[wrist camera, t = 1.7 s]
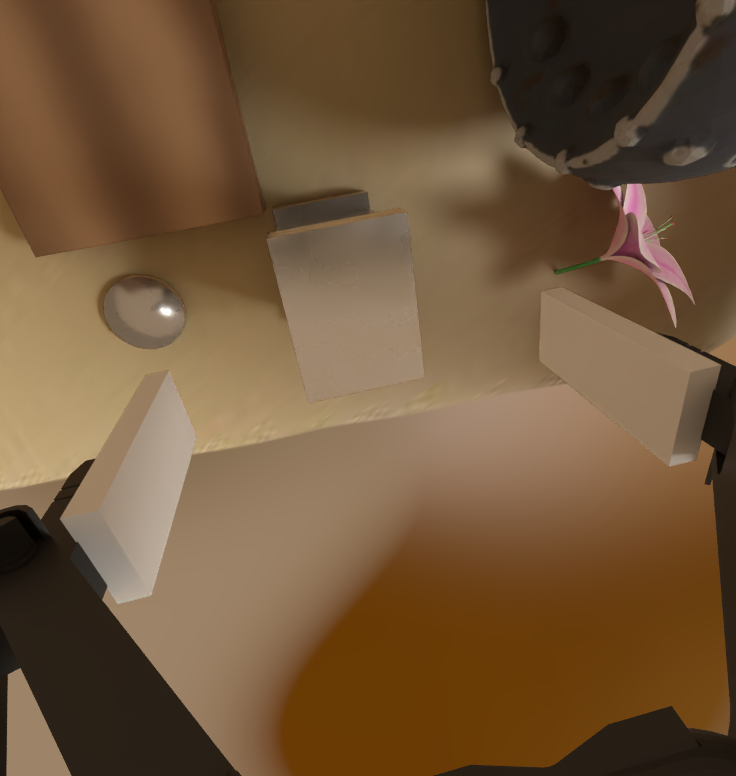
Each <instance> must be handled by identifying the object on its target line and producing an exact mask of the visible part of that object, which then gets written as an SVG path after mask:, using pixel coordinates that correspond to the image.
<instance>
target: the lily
mask: <svg viewBox="0 0 736 776" xmlns="http://www.w3.org/2000/svg"><path fill="white" fill-rule="evenodd" d="M612 190H613V192H614V194H615V195H616V198H617V200H618V204H619V210H620V215H619V221H618V225H617V228H616V232H615V235H614V238H613V240H612V243H611V246H610V248H609V250H608V252H607V253H606V254H605V255H603V256H601V257H598V258H596V259H593V260H590V261H587V262H584V263H581V264H577V265H574V266H571V267H567V268H563V269H560V270H556V271H555V274H560V273H563V272H567V271H571V270H575V269H578V268H582V267H585V266H588V265H591V264H594V263H597V262H601V261H604V260H615V261H618V262H621V263H624V264H627V265H629V266H632V267H634V268H636V269H638V270H640V271H642V272H643V273H645V274H646V275H647V276H649V277H650V278H651V279H652V280H653V281H654V282H655V283H656V285H657V286H658V288H659V289H660V291H661V293H662V295H663V298H664V300H665V303H666V305H667V307H668V310H669V313H670V315H671V318H672V320H673V323H674V326H675V328H676V315H675V309H674V305H673V300H672V297H671V294H670V292H669V289H668V288H667V286H666V285H665V283H664V282H667V283H669V284H671V285H673V286H675V287H677V288H679V289H680V290H682V291H683V292H685V293H686V294H687V295H688V296H689V297H690V299H691V300H692V302H693V303H694V299H693V296H692V293H691V291H690V288H689V286H688V283H687V281H686V278H685V276H684V274H683V272H682V270H681V268H680V266H679V265H678V263H677V262H676V260H675V259H674V257H673V256H672V255H671V254H670V253H669V252H668V251H667V250H666V249H665V248H663V247H661V246H660V242H659V239H663V240H667V239H669V238H658V235H657V233H659V232H661V231H664V230H666V229H669V228H671V227H672V226H671V225H674V222H671V224H669V225H666V226H665V227H663V228H662V229H660V230H658V231H655V230H656V229H658V228H659V227H661V226H662V225H664V224H665V223H666V222H668V221H669V220H670V219H671V218H672V217H673V216H674V215H673V216H671V217H670V218H669V219H668V221H666V222H665V223H664V224H662V225H661V226H659V227H658V228H656V229H654V227H653V225H652V222H651V220H650V219H649V217H648V216H647V215H646V212H647V205H646V197H645V193H644V190H643V186H642V184H627V190H626V196H625V202H624V207H623V193H622V189H621V187H620V185H619V186H617V187H615V188H613V189H612ZM669 226H671V227H669ZM667 227H668V228H667ZM663 281H664V282H663ZM694 305H695V303H694Z"/></svg>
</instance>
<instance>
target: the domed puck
mask: <svg viewBox="0 0 736 776" xmlns="http://www.w3.org/2000/svg"><path fill="white" fill-rule="evenodd" d="M103 309H104V316H105V319H106V321H107V323H108V325H109V327H110V328H111V330H112V331H113V332H114V333H115V334H116V335H117V336H118V337H119V338H120V339H122V340H123V341H124V342H126V343H128V344H130V345H132V346H135V347H138V348H143V349H157V348H162V347H165V346H167V345H169V344H171V343H172V342H173V341H175V340H176V339H177V337H178V336H179V335H180V333H181V331H182V330H183V328H184V325H185V321H186V311H185V306H184V303H183V301H182V299H181V297H180V296H179V294H178V293H177V292H176V291H175V290H174V289H173V288H172V287H171V286H170V285H169V284H167V283H166V282H164V281H162V280H160V279H158V278H155V277H152V276H148V275H133V276H129V277H126V278H124V279H122V280H120V281H119V282H117V283H116V284H115V285H114V286H112V287H111V288H110V290H109V291H108V293H107V294H106V297H105V299H104V306H103Z"/></svg>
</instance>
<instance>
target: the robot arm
mask: <svg viewBox="0 0 736 776" xmlns="http://www.w3.org/2000/svg"><path fill="white" fill-rule="evenodd" d="M539 361H540V362H541V363H542V364H544V365H545V366H546V367H547V368H549V369H550V370H551V371H552V372H554V373H555V374H556V375H557V376H558V377H560V378H561V379H562V380H563V381H565V382H566V383H567V384H568V385H570V386H571V387H572V388H573V389H574V390H576V391H577V392H578V393H580V394H581V395H582V396H583V397H584V398H585V399H587V400H588V401H589V402H590V403H592V404H593V405H594V406H595V407H597V408H598V409H599V410H600V411H601V412H603V413H604V414H605V415H606V416H608V417H609V418H610V419H611V420H612V421H614V422H615V423H616V424H617V425H619V426H620V427H621V428H622V429H624V430H625V431H626V432H627V433H628V434H630V435H631V436H632V437H633V438H635V439H636V440H637V441H638V442H639V443H641V444H642V445H643V446H644V447H646V448H647V449H648V450H649V451H651V452H652V453H653V454H655V456H657V457H658V458H659V459H660V460H662V461H663V462H664V463H665V464H667V465H668V466H673V465H678V464H681V463H686V462H689V461H693V460H696V459H697V456H698V452H699V448H700V445H701V441H702V440H703V441H705V442H706V443H708V444H709V445H710V446H712V447H713V448H715V449H714V452H713V456H712V459H711V463H710V466H709V470H708V474H707V478H706V481H705V484H707V485H710V484H711V481H712V480H713V492H714V506H715V517H716V530H717V544H718V557H719V569H720V583H721V595H722V608H723V621H724V634H725V645H726V646H725V647H726V659H727V672H728V685H729V697H730V725H729V730H728V736H726V735H723V734H719V733H716V732H712V731H707V730H701V729H694V728H687V727H686V726H685V724H684V723H683V721H682V720H681V719H680V717H679V716H678V714H677V713H676V711H675V710H674V709H673V707H672V706H670V707H666V708H663V709H660V710H656V711H653V712H649V713H646V714H643V715H639V716H636V717H633V718H629V719H625V720H622V721H619V722H615V723H612V724H608V725H607V726H606V727H604V728H603V729H602V730H600V731H599V732H598V733H596V734H595V735H594V736H592V737H591V738H590V739H588V740H587V741H586V742H584V743H583V744H582V745H580V746H579V747H578V748H576V749H575V750H574V751H572V752H571V753H570V754H568V755H567V756H566V757H564V758H563V759H562V760H560V761H559V762H558V763H556V764H555V765H553V766H550V767H545V768H537V767H511V766H484V765H469V766H465V767H462V768H458V769H455V770H452V771H448V772H445V773H442V774H438V775H435V776H736V366H734V365H731V364H729V363H727V362H725V361H723V360H721V359H718V358H717V357H714V356H712V355H710V354H708V353H706V352H701V350H700V349H698V348H696V347H694V346H689V344H687V343H685V342H683V341H681V340H679V339H677V338H675V337H671V336H667V335H663V334H659V333H655V332H653V331H651V330H649V329H647V328H645V327H642V326H640V325H638V324H636V323H634V322H632V321H630V320H628V319H626V318H624V317H622V316H620V315H618V314H616V313H614V312H612V311H610V310H608V309H606V308H604V307H601V306H599V305H597V304H595V303H593V302H591V301H589V300H587V299H585V298H583V297H581V296H579V295H577V294H575V293H573V292H571V291H569V290H567V289H565V288H563V287H559V288H555V289H550V290H545V291H541V313H540V340H539ZM196 439H197V436H196V434H195V431H194V429H193V426H192V424H191V422H190V419H189V417H188V415H187V412H186V410H185V407H184V405H183V403H182V400H181V398H180V396H179V393H178V391H177V388H176V386H175V384H174V381H173V379H172V377H171V374H170V372H169V370H167V371H163V372H158V373H153V374H149V375H145V377H144V379H143V380H142V382H141V384H140V385H139V387H138V389H137V390H136V392H135V394H134V395H133V397H132V399H131V400H130V402H129V404H128V405H127V407H126V409H125V410H124V412H123V414H122V415H121V417H120V419H119V420H118V422H117V424H116V426H115V427H114V429H113V431H112V432H111V434H110V436H109V437H108V439H107V441H106V442H105V444H104V446H103V447H102V449H101V451H100V452H99V454H98V456H97V457H96V459H92V460H87V461H85V462H84V463H83V464H82V465H80V466H79V467H78V468H77V469H76V470H75V471H74V472H73V473H71V474H70V476H69V477H68V479H67V480H66V482H65V483H64V485H63V487H62V488H61V489H62V491H59V493H58V495H57V496H56V497H55V499H54V502H53V503H52V504H51V505H50V507H49V508H48V510H47V511H46V513H45V514H44V516H43V518H42V519H41V520H40V519H39V517H38V516H37V514H36V513H35V512H34V510H33V509H32V508H30V507H28V506H27V505H18V506H12V507H9V508H5V509H2V510H0V776H6V760H7V759H6V758H7V756H6V755H7V754H6V753H7V689H8V688H7V686H8V674H9V673H11V672H13V671H15V670H17V669H19V668H21V670H22V672H23V674H24V676H25V678H26V680H27V682H28V684H29V687H30V689H31V691H32V693H33V695H34V697H35V699H36V701H37V703H38V706H39V707H40V710H41V712H42V714H43V716H44V718H45V720H46V722H47V724H48V727H49V729H50V731H51V733H52V735H53V737H54V739H55V741H56V743H57V746H58V748H59V750H60V752H61V754H62V756H63V758H64V760H65V763H66V765H67V767H68V769H69V771H70V773H71V775H72V776H241V775H240V773H239V772H238V771H236V770H235V769H234V768H233V767H232V765H231V764H230V763H229V762H228V760H227V759H226V758H225V757H224V755H223V754H222V753H221V752H220V750H219V749H218V748H217V747H216V745H215V744H214V743H213V741H212V740H211V739H210V738H209V736H208V735H207V734H206V732H205V731H204V730H203V729H202V727H201V726H200V725H199V723H198V722H197V721H196V720H195V718H194V717H193V716H192V714H191V713H190V712H189V711H188V710H187V708H186V707H185V706H184V704H183V703H182V702H181V700H180V699H179V698H178V697H177V695H176V694H175V693H174V691H173V690H172V689H171V688H170V686H169V685H168V684H167V683H166V681H165V680H164V679H163V677H162V676H161V675H160V674H159V672H158V671H157V670H156V668H155V667H154V666H153V665H152V663H151V662H150V661H149V660H148V659H147V657H146V656H145V654H144V653H143V652H142V651H141V649H140V648H139V647H138V645H137V644H136V643H135V642H134V640H133V639H132V638H131V636H130V635H129V634H128V633H127V631H126V630H125V629H124V628H123V626H122V625H121V624H120V622H119V621H118V620H117V619H116V617H115V616H114V615H113V613H112V612H111V611H110V610H109V608H108V607H107V606H106V605H105V603H104V602H103V601H102V599H103V596H104V594H105V591H106V589H108V590H109V592H110V593H111V595H112V596H113V598H114V599H115V601H116V602H117V603H118V604H119V603H123V602H128V601H131V600H136V599H140V598H144V597H148V596H151V594H152V590H153V587H154V584H155V580H156V577H157V574H158V570H159V567H160V563H161V560H162V556H163V552H164V549H165V546H166V542H167V539H168V535H169V532H170V529H171V525H172V522H173V518H174V515H175V511H176V508H177V504H178V501H179V497H180V494H181V490H182V487H183V483H184V480H185V476H186V473H187V469H188V466H189V463H190V459H191V456H192V452H193V449H194V445H195V442H196Z"/></svg>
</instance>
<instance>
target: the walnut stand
mask: <svg viewBox="0 0 736 776" xmlns="http://www.w3.org/2000/svg"><path fill="white" fill-rule="evenodd" d="M0 188H1V190H2V192H3V194H4V196H5V198H6V200H7V202H8V204H9V206H10V208H11V210H12V212H13V214H14V216H15V218H16V220H17V222H18V224H19V226H20V227H21V229H22V231H23V233H24V235H25V237H26V239H27V241H28V243H29V245H30V247H31V249H32V251H33V253H34V255H35V257H40V256H45V255H51V254H56V253H61V252H67V251H72V250H77V249H83V248H88V247H93V246H99V245H104V244H109V243H115V242H120V241H125V240H131V239H136V238H141V237H147V236H152V235H157V234H163V233H168V232H173V231H179V230H184V229H189V228H195V227H200V226H205V225H211V224H216V223H221V222H227V221H232V220H237V219H243V218H248V217H253V216H259V215H263V214H264V211H265V205H264V202H263V198H262V194H261V190H260V186H259V182H258V178H257V174H256V170H255V166H254V162H253V158H252V154H251V150H250V146H249V142H248V138H247V134H246V130H245V126H244V122H243V118H242V114H241V110H240V106H239V102H238V98H237V94H236V90H235V86H234V82H233V78H232V74H231V70H230V66H229V62H228V58H227V54H226V50H225V46H224V42H223V38H222V34H221V30H220V26H219V22H218V18H217V14H216V10H215V6H214V2H213V0H0Z"/></svg>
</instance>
